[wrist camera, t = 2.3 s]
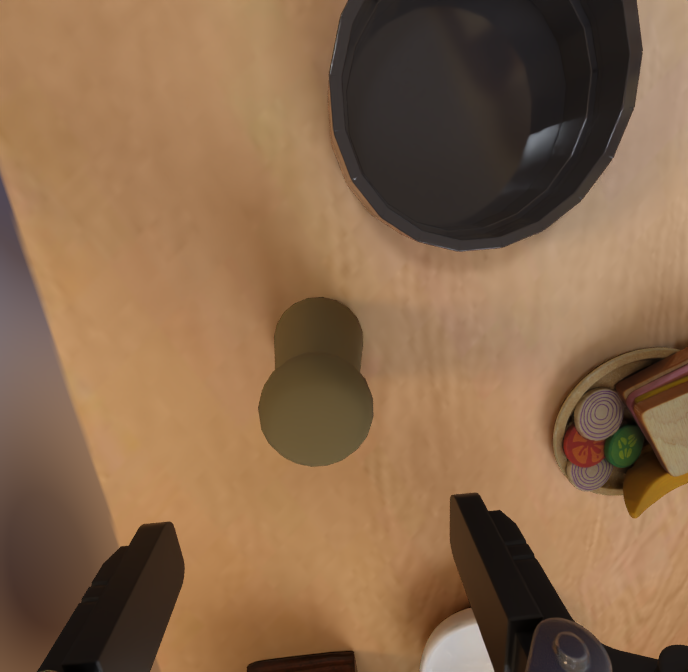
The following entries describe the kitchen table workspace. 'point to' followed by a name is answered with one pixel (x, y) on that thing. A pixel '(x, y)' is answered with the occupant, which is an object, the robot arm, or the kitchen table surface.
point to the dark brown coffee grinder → (309, 663)
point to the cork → (316, 385)
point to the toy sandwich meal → (628, 428)
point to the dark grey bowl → (479, 111)
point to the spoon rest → (456, 646)
